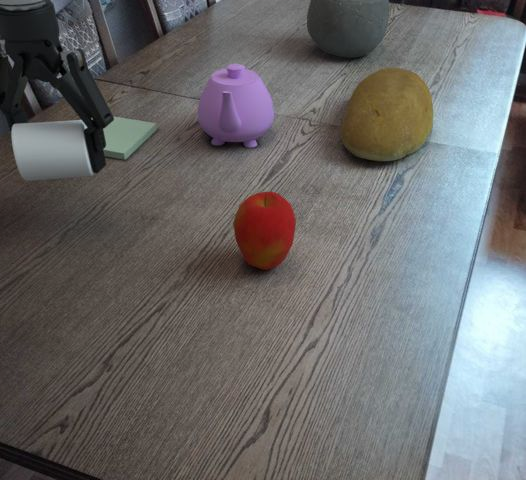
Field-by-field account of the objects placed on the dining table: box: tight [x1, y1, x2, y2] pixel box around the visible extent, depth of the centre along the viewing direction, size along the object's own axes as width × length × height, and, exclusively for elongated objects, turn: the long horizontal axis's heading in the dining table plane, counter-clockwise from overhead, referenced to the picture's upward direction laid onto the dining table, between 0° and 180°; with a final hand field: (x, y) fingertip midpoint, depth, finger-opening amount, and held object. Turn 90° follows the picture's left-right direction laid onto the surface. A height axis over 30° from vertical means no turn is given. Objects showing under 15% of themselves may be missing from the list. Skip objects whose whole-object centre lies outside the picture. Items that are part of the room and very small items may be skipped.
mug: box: [10, 119, 95, 182], centre depth 83 cm, size 12×10×8 cm
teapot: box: [197, 63, 275, 148], centre depth 109 cm, size 22×16×14 cm
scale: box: [79, 115, 158, 161], centre depth 112 cm, size 16×14×3 cm
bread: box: [340, 67, 434, 162], centre depth 113 cm, size 18×35×10 cm, turn 167°
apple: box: [232, 191, 297, 271], centre depth 80 cm, size 9×9×12 cm
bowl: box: [306, 0, 390, 59], centre depth 144 cm, size 21×21×15 cm
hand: (64, 161), depth 85 cm, fingers closed on mug, 12 cm apart
